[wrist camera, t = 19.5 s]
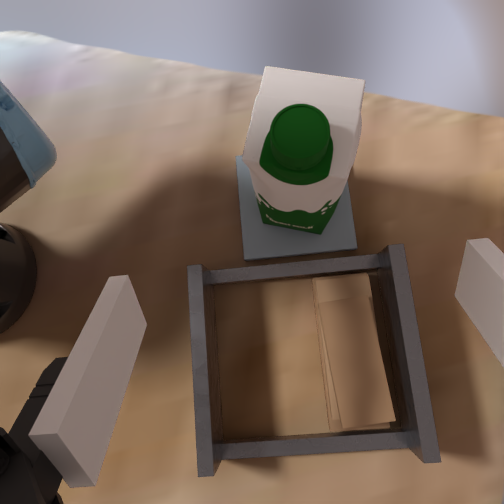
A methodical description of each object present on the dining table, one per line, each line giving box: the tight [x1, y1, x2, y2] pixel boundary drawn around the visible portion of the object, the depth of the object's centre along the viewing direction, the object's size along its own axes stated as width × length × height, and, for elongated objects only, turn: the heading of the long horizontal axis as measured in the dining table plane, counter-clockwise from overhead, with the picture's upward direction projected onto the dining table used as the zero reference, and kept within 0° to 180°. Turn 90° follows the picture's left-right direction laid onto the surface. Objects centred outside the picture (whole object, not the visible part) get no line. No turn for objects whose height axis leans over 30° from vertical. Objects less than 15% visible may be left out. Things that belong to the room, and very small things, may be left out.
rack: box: [187, 244, 441, 477], centre depth 39 cm, size 22×20×6 cm
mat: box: [236, 155, 357, 261], centre depth 45 cm, size 13×13×1 cm
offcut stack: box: [312, 273, 396, 432], centre depth 40 cm, size 6×16×5 cm, turn 5°
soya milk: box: [242, 66, 365, 235], centre depth 35 cm, size 9×9×20 cm
